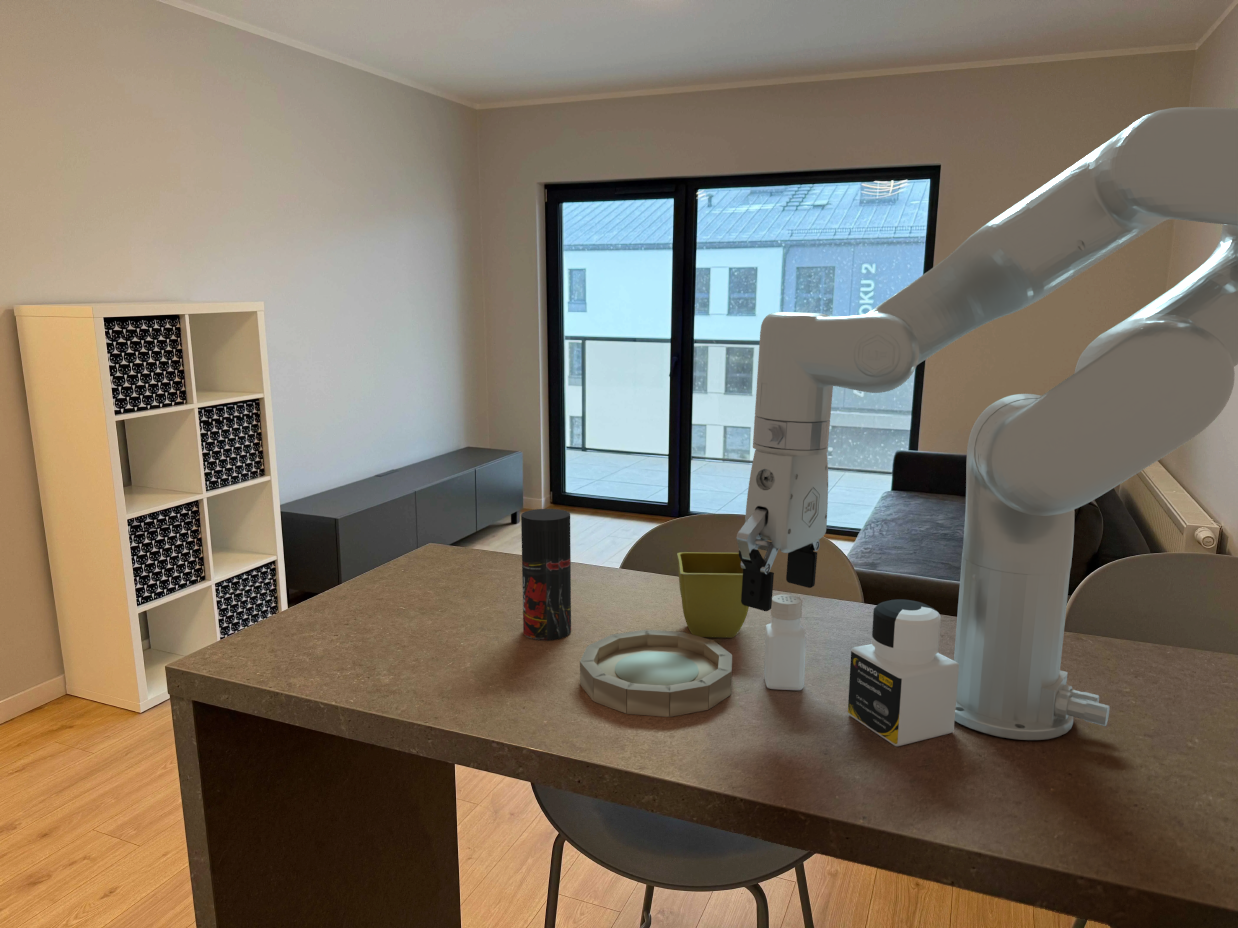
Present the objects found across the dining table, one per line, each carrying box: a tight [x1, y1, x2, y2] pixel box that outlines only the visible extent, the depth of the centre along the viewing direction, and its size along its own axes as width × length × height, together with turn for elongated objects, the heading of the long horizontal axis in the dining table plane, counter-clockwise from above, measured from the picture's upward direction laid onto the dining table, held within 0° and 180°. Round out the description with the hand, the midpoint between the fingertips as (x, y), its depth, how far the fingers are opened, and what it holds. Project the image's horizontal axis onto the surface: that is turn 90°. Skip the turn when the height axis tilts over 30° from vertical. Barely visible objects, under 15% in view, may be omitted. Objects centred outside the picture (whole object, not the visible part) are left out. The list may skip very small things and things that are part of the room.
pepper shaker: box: [763, 593, 807, 691], centre depth 89 cm, size 4×4×10 cm
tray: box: [579, 629, 733, 718], centre depth 90 cm, size 16×16×3 cm
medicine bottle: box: [847, 598, 959, 747], centre depth 80 cm, size 7×7×12 cm
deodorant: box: [520, 508, 572, 642], centre depth 103 cm, size 6×6×15 cm
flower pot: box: [676, 551, 750, 639], centre depth 104 cm, size 9×9×9 cm
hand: (778, 595), depth 89 cm, fingers open, 9 cm apart
